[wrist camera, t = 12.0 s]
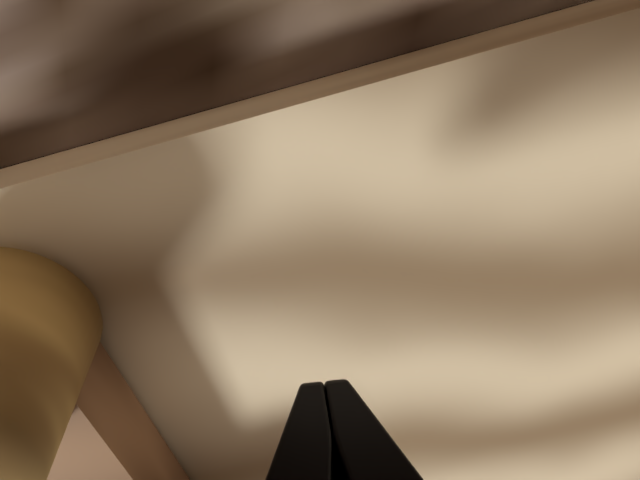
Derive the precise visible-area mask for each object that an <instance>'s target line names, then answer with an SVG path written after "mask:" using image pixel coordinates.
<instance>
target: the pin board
mask: <svg viewBox="0 0 640 480" xmlns="http://www.w3.org/2000/svg"><path fill="white" fill-rule="evenodd" d="M0 247H9V248H16V249H21V250H25V251H29V252H32V253H35V254H38V255H41V256H43V257H46V258H48V259H50V260H52V261H54V262H56V263H58V264H60V265H61V266H63V267H64V268H66V269H67V270H69V271H70V272H72V273H73V274H74V275H75V276H76V277H78V278H79V279H80V280H81V281H82V282H83V283H84V284H85V285H86V286H87V288H88V289H89V290H90V292H91V293H92V294H93V296H94V298H95V299H96V301H97V303H98V305H99V308H100V311H101V315H102V321H103V331H102V336H101V340H100V342H101V344H102V346H103V347H104V349H105V350H106V352H107V353H108V355H109V356H110V358H111V359H112V361H113V362H114V364H115V365H116V367H117V369H118V370H119V372H120V373H121V375H122V376H123V378H124V379H125V381H126V382H127V384H128V385H129V387H130V388H131V390H132V392H133V393H134V395H135V396H136V398H137V399H138V401H139V402H140V404H141V405H142V407H143V408H144V410H145V411H146V413H147V415H148V416H149V418H150V419H151V421H152V422H153V424H154V425H155V427H156V428H157V430H158V431H159V433H160V434H161V436H162V438H163V439H164V441H165V442H166V444H167V445H168V447H169V448H170V450H171V451H172V453H173V454H174V456H175V457H176V459H177V461H178V462H179V464H180V465H181V467H182V468H183V470H184V471H185V473H186V474H187V476H188V477H189V479H190V480H265V479H266V476H267V473H268V470H269V468H270V465H271V462H272V460H273V457H274V454H275V451H276V449H277V446H278V443H279V441H280V438H281V435H282V432H283V430H284V427H285V424H286V422H287V419H288V416H289V413H290V411H291V408H292V405H293V403H294V400H295V397H296V394H297V392H298V389H299V387H300V385H301V384H303V383H310V382H322V383H323V384H325V382H326V381H329V380H339V379H346V380H348V381H349V382H350V384H351V385H352V386H353V387H354V389H355V390H356V391H357V393H358V394H359V395H360V397H361V398H362V399H363V401H364V402H365V403H366V404H367V406H368V407H369V408H370V410H371V411H372V412H373V414H374V415H375V416H376V418H377V419H378V420H379V422H380V423H381V424H382V425H383V427H384V428H385V429H386V431H387V432H388V433H389V435H390V436H391V437H392V439H393V440H394V441H395V443H396V444H397V445H398V446H399V448H400V449H401V450H402V452H403V453H404V454H405V456H406V457H407V458H408V460H409V461H410V462H411V464H412V465H413V466H414V467H415V469H416V470H417V471H418V473H419V474H420V475H421V477H422V478H423V479H424V480H640V0H594V1H591V2H587V3H584V4H580V5H577V6H573V7H569V8H566V9H562V10H559V11H555V12H552V13H548V14H545V15H541V16H538V17H534V18H531V19H527V20H524V21H520V22H517V23H513V24H510V25H506V26H503V27H499V28H496V29H492V30H489V31H485V32H482V33H478V34H474V35H471V36H467V37H464V38H460V39H457V40H453V41H450V42H446V43H443V44H439V45H436V46H432V47H429V48H425V49H422V50H418V51H415V52H411V53H408V54H404V55H401V56H397V57H394V58H390V59H387V60H383V61H380V62H376V63H372V64H369V65H365V66H362V67H358V68H355V69H351V70H348V71H344V72H341V73H337V74H334V75H330V76H327V77H323V78H320V79H316V80H313V81H309V82H306V83H302V84H299V85H295V86H292V87H288V88H285V89H281V90H277V91H274V92H270V93H267V94H263V95H260V96H256V97H253V98H249V99H246V100H242V101H239V102H235V103H232V104H228V105H225V106H221V107H218V108H214V109H211V110H207V111H204V112H200V113H197V114H193V115H190V116H186V117H182V118H179V119H175V120H172V121H168V122H165V123H161V124H158V125H154V126H151V127H147V128H144V129H140V130H137V131H133V132H130V133H126V134H123V135H119V136H116V137H112V138H109V139H105V140H102V141H98V142H95V143H91V144H87V145H84V146H80V147H77V148H73V149H70V150H66V151H63V152H59V153H56V154H52V155H49V156H45V157H42V158H38V159H35V160H31V161H28V162H24V163H21V164H17V165H14V166H10V167H7V168H3V169H0Z"/></svg>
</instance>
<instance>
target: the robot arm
mask: <svg viewBox="0 0 640 480" xmlns="http://www.w3.org/2000/svg"><path fill="white" fill-rule="evenodd" d="M265 480H424V479H423V478H422V477H421V475H420V474H419V473H418V471H417V470H416V469H415V467H414V466H413V465H412V464H411V462H410V461H409V460H408V458H407V457H406V456H405V454H404V453H403V452H402V450H401V449H400V448H399V446H398V445H397V444H396V443H395V441H394V440H393V439H392V437H391V436H390V435H389V433H388V432H387V431H386V429H385V428H384V427H383V425H382V424H381V423H380V422H379V420H378V419H377V418H376V416H375V415H374V414H373V412H372V411H371V410H370V408H369V407H368V406H367V404H366V403H365V402H364V401H363V399H362V398H361V397H360V395H359V394H358V393H357V391H356V390H355V389H354V387H353V386H352V385H351V384H350V382H349V381H348V380H346V379H339V380H329V381H326V382H325V384H323V383H322V382H310V383H303V384H301V385H300V387H299V389H298V392H297V394H296V397H295V400H294V403H293V405H292V408H291V411H290V413H289V416H288V419H287V422H286V424H285V427H284V430H283V432H282V435H281V438H280V441H279V443H278V446H277V449H276V451H275V454H274V457H273V460H272V462H271V465H270V468H269V470H268V473H267V476H266V479H265Z"/></svg>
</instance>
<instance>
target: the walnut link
mask: <svg viewBox="0 0 640 480" xmlns="http://www.w3.org/2000/svg"><path fill="white" fill-rule="evenodd" d="M102 331H103V321H102V315H101V311H100V308H99V305H98V303H97V301H96V299H95V298H94V296H93V294H92V293H91V292H90V290H89V289H88V288H87V286H86V285H85V284H84V283H83V282H82V281H81V280H80V279H79V278H78V277H76V276H75V275H74V274H73V273H72V272H70V271H69V270H67V269H66V268H64V267H63V266H61V265H60V264H58V263H56V262H54V261H52V260H50V259H48V258H46V257H43V256H41V255H38V254H35V253H32V252H29V251H25V250H21V249H16V248H9V247H0V480H190V479H189V477H188V476H187V474H186V473H185V471H184V470H183V468H182V467H181V465H180V464H179V462H178V461H177V459H176V457H175V456H174V454H173V453H172V451H171V450H170V448H169V447H168V445H167V444H166V442H165V441H164V439H163V438H162V436H161V434H160V433H159V431H158V430H157V428H156V427H155V425H154V424H153V422H152V421H151V419H150V418H149V416H148V415H147V413H146V411H145V410H144V408H143V407H142V405H141V404H140V402H139V401H138V399H137V398H136V396H135V395H134V393H133V392H132V390H131V388H130V387H129V385H128V384H127V382H126V381H125V379H124V378H123V376H122V375H121V373H120V372H119V370H118V369H117V367H116V365H115V364H114V362H113V361H112V359H111V358H110V356H109V355H108V353H107V352H106V350H105V349H104V347H103V346H102V344H101V342H100V340H101V336H102Z"/></svg>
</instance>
